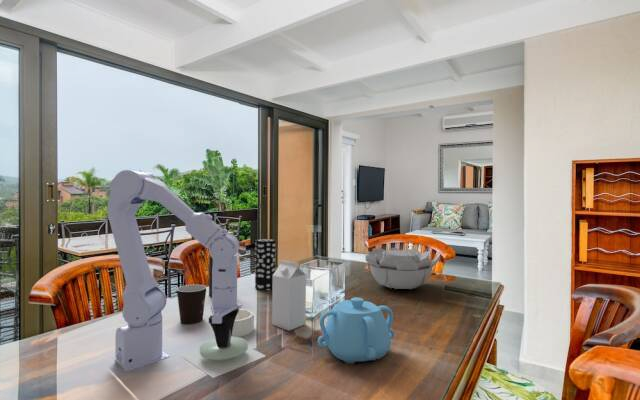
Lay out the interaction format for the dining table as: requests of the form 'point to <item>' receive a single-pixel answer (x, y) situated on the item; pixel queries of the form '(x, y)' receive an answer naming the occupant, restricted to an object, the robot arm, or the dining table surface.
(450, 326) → the dining table surface
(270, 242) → the spotted tube
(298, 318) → the milk carton
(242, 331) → the bowl
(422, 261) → the decorative bowl
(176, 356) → the dining table surface
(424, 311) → the dining table surface
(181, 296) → the coffee mug
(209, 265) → the bottle
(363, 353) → the decorative pot
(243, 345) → the lid
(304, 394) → the dining table surface
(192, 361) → the mat
